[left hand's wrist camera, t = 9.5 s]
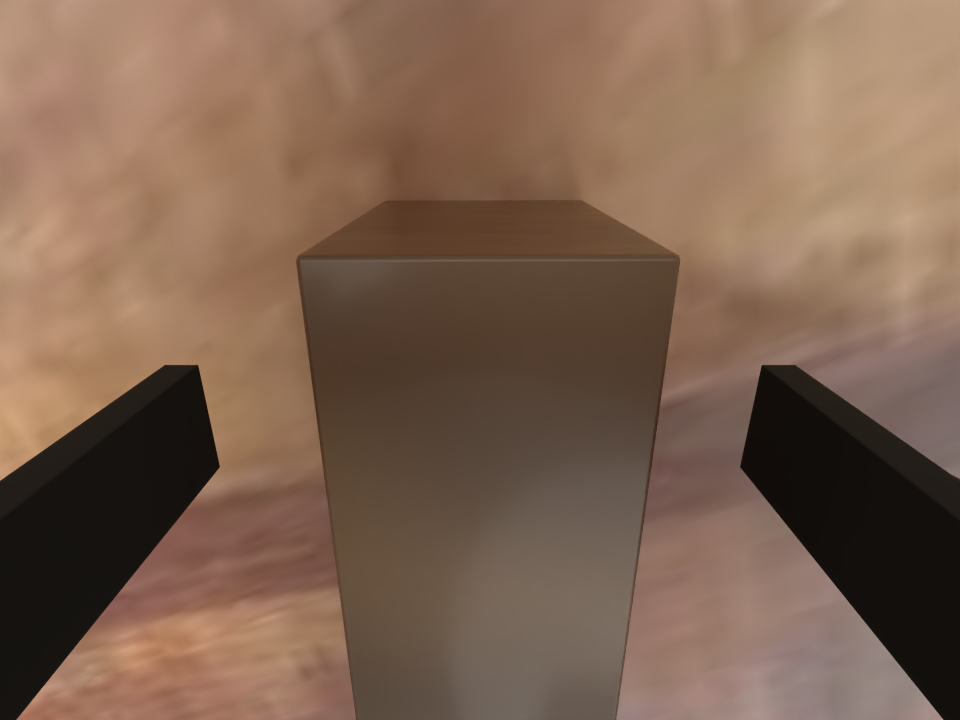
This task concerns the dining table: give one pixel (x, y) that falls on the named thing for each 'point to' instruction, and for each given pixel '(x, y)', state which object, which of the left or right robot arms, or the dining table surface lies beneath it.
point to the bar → (487, 449)
